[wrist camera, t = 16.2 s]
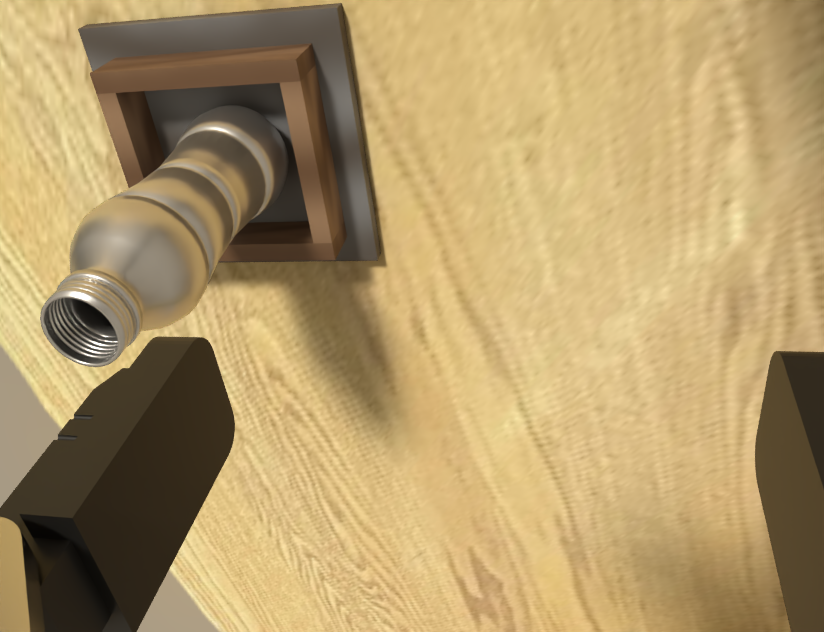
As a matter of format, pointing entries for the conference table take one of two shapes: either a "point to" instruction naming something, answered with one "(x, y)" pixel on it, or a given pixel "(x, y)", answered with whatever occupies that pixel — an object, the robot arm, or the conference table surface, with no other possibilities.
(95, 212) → the plastic bottle
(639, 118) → the conference table surface
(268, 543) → the conference table surface
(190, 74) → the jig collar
